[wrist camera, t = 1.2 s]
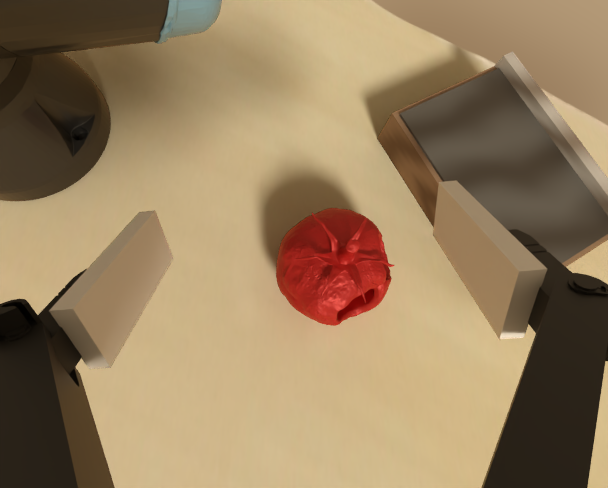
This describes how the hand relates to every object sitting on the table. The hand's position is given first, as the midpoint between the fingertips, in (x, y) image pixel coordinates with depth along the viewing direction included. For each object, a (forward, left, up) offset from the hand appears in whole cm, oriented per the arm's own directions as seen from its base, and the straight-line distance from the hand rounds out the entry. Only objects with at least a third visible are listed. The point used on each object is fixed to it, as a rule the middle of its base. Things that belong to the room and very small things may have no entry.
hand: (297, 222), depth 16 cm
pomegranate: (+2, +4, -17) cm, 17 cm away
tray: (+2, +23, -17) cm, 28 cm away
